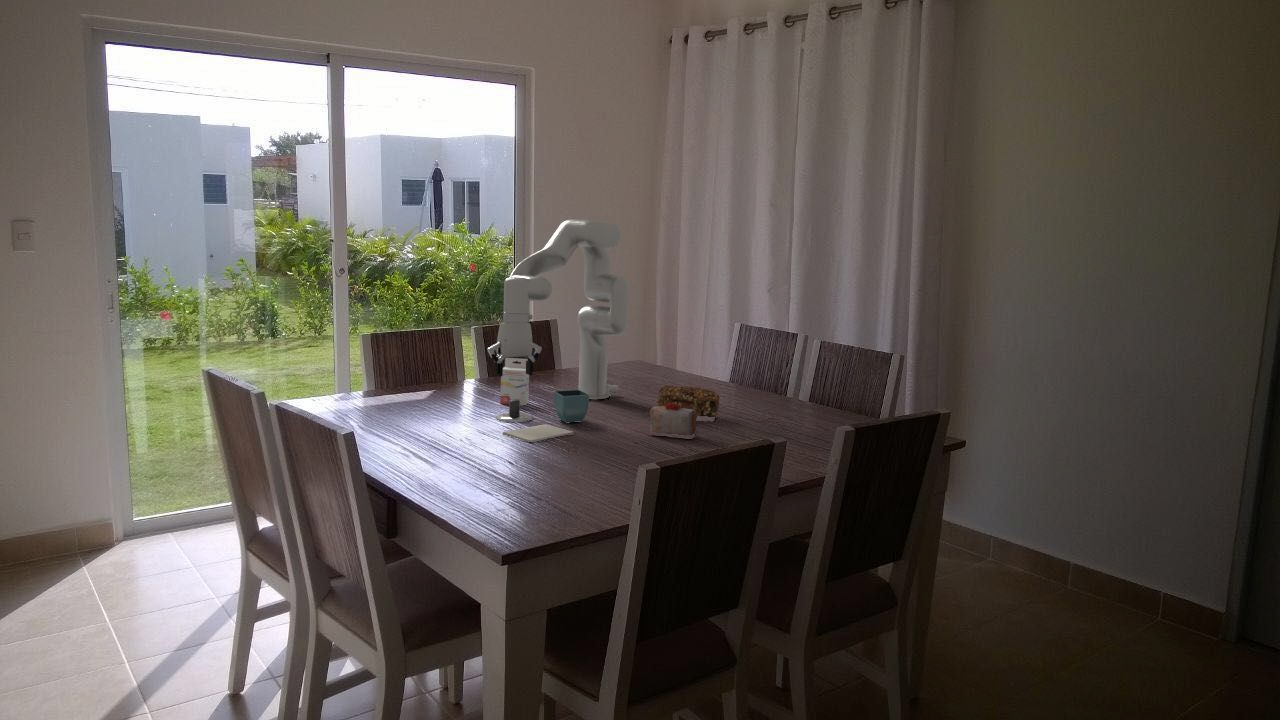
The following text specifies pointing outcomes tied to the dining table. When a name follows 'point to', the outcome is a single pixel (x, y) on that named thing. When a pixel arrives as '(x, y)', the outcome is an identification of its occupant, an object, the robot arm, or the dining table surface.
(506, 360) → the ink cartridge box
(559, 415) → the flower pot
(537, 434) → the linen napkin
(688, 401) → the bread
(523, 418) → the lid
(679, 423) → the food item
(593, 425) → the dining table surface
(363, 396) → the dining table surface
